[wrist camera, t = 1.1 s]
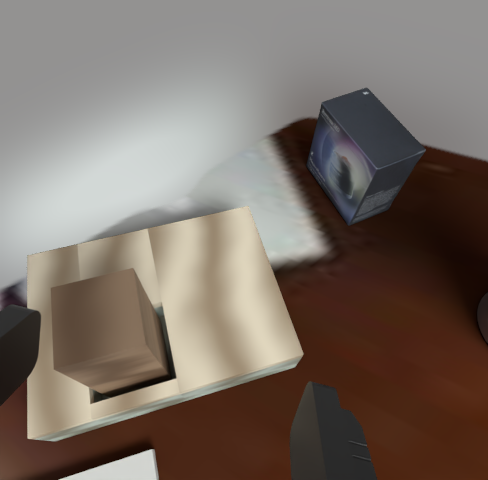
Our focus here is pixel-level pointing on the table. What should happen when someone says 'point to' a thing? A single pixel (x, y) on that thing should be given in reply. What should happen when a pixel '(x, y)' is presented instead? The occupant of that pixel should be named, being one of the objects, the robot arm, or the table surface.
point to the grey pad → (123, 469)
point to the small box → (361, 155)
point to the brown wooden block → (108, 334)
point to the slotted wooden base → (168, 317)
